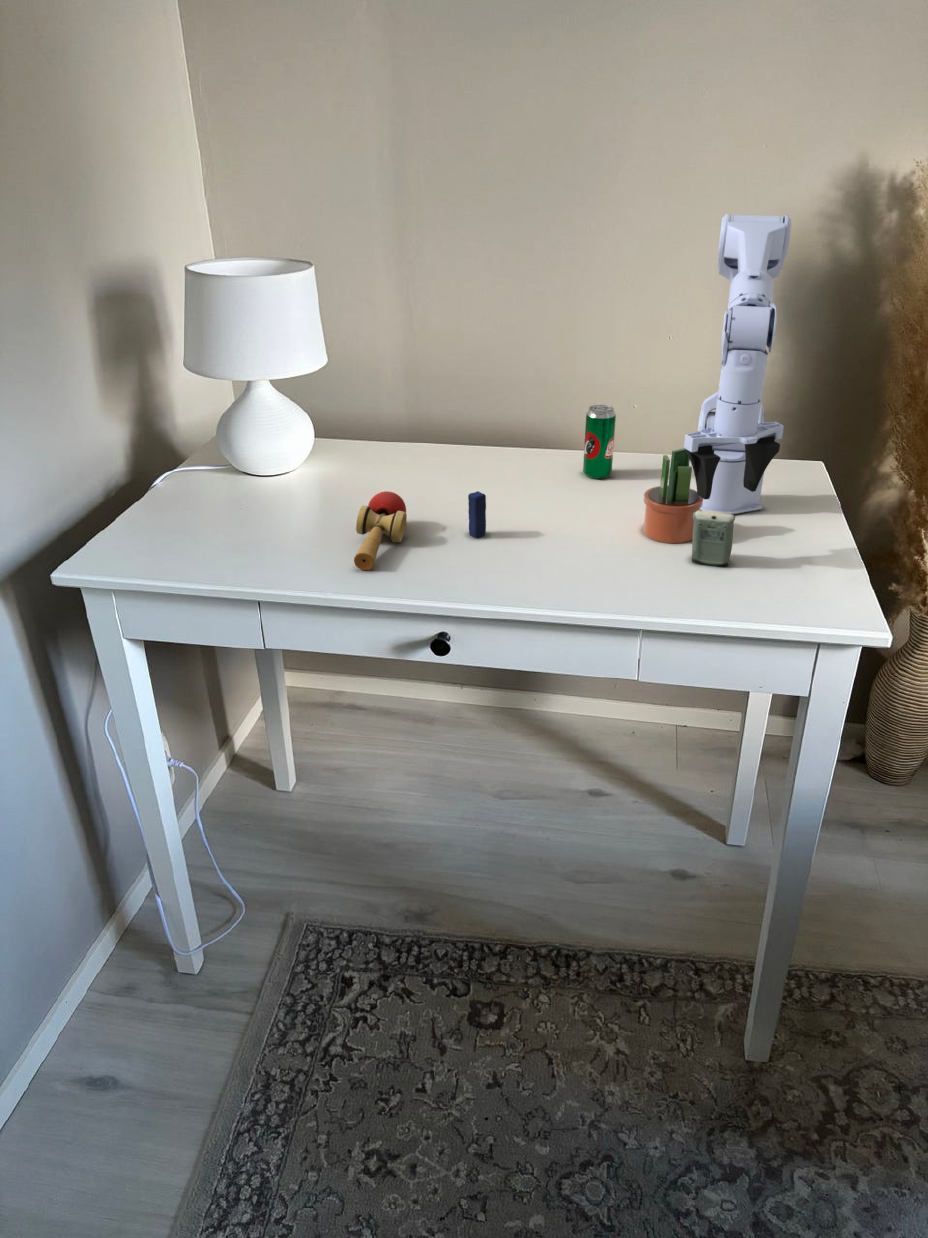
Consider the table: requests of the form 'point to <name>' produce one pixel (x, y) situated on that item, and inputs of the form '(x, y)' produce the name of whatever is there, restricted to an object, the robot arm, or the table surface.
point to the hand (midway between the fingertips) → (726, 492)
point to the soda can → (599, 441)
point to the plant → (672, 502)
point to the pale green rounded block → (712, 538)
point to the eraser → (477, 514)
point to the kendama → (379, 525)
